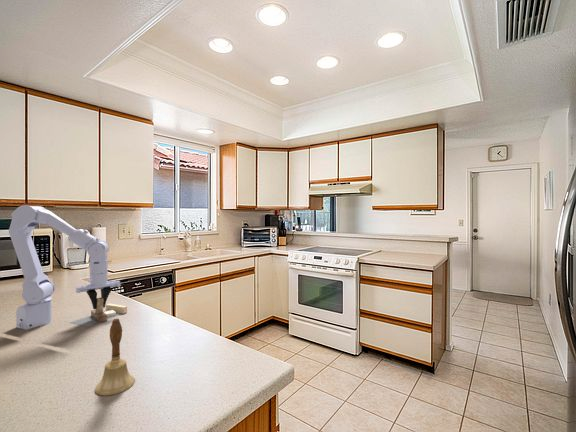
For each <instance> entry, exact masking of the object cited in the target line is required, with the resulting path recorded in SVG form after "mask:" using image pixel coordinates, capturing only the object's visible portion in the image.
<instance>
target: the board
mask: <svg viewBox="0 0 576 432" xmlns="http://www.w3.org/2000/svg"><path fill="white" fill-rule="evenodd" d="M110 310H114V311H115V312H116V315H115V316H110V317H107V321H108V320H110V319H114V318H115V317H117V316H121V315H124V314H127V313H128V306H127V305H120V304H114V303H107V304H105V310H103V312H105V311H110ZM102 322H103V321H101V322H97V321H96V320H95V319H94V318H93V317H92V316H91V315H89V316H86V317H83V318H80V319H76V320H74V321H73V320H72V321H71V322H69V324H71V325H72V324H73V325H78V326H83V327H88V328H89V327H91V326H93V325H97V324H99V323H102Z"/></svg>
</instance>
